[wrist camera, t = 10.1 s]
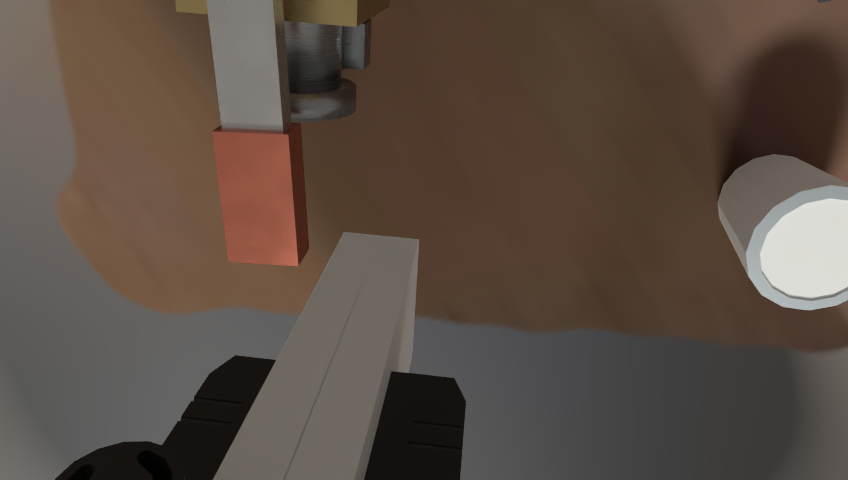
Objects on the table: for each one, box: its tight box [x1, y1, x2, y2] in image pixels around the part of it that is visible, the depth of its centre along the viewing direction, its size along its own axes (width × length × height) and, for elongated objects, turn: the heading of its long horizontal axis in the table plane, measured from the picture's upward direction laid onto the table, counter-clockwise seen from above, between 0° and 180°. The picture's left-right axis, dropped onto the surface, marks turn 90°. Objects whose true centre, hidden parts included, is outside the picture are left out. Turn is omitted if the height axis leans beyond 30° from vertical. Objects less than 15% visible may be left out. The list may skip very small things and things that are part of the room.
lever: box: [206, 0, 309, 266], centre depth 26 cm, size 16×4×2 cm, turn 179°
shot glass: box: [718, 154, 848, 310], centre depth 35 cm, size 7×7×7 cm
